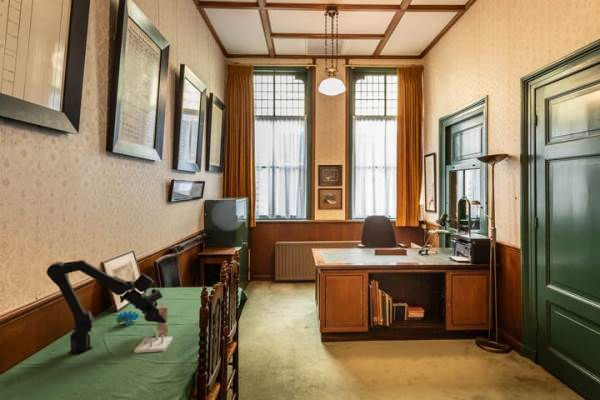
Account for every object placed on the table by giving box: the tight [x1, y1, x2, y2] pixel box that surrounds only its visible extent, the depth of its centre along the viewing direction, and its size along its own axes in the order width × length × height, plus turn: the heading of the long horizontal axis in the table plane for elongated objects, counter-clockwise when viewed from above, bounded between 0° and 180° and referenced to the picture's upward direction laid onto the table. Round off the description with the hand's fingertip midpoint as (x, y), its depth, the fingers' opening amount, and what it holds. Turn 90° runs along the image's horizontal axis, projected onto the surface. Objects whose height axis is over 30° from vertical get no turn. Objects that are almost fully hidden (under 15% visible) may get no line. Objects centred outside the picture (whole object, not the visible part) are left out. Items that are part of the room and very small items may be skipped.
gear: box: [114, 310, 140, 328], centre depth 173 cm, size 11×6×10 cm
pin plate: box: [134, 331, 174, 354], centre depth 147 cm, size 12×12×4 cm
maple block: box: [156, 304, 169, 337], centre depth 159 cm, size 4×4×13 cm
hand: (164, 319), depth 160 cm, fingers open, 9 cm apart
